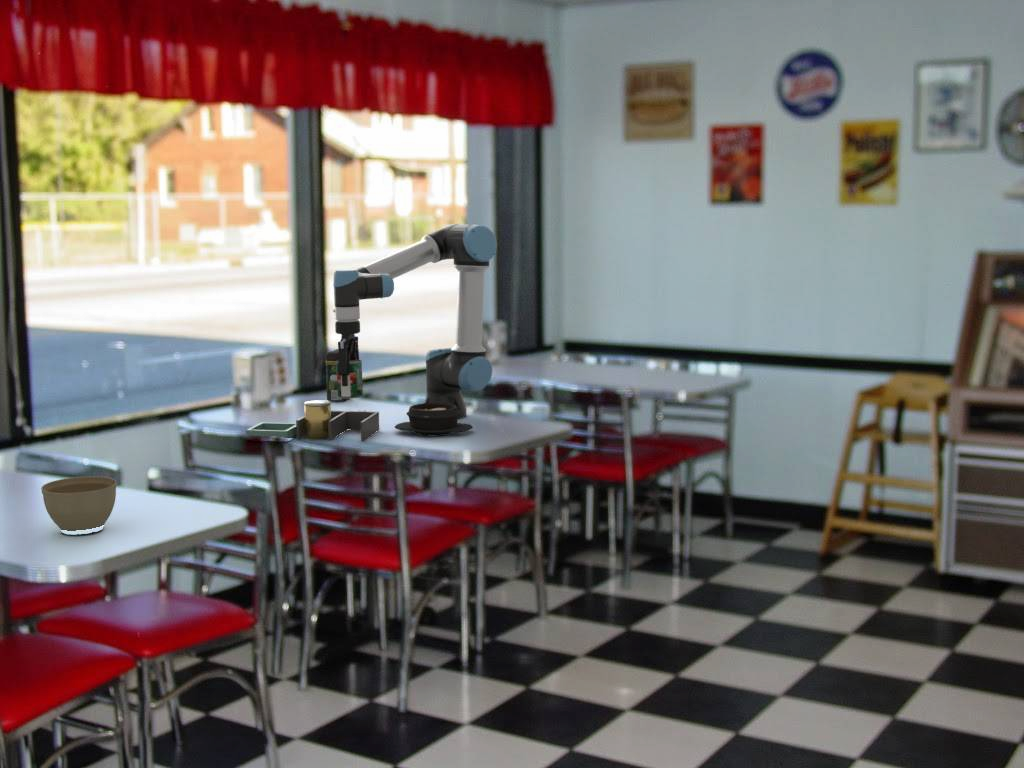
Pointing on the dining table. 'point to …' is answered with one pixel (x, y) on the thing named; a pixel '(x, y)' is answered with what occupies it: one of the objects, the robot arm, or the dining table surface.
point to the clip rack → (346, 423)
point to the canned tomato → (352, 379)
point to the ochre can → (317, 419)
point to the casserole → (433, 419)
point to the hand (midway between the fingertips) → (350, 393)
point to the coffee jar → (332, 376)
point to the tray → (274, 430)
